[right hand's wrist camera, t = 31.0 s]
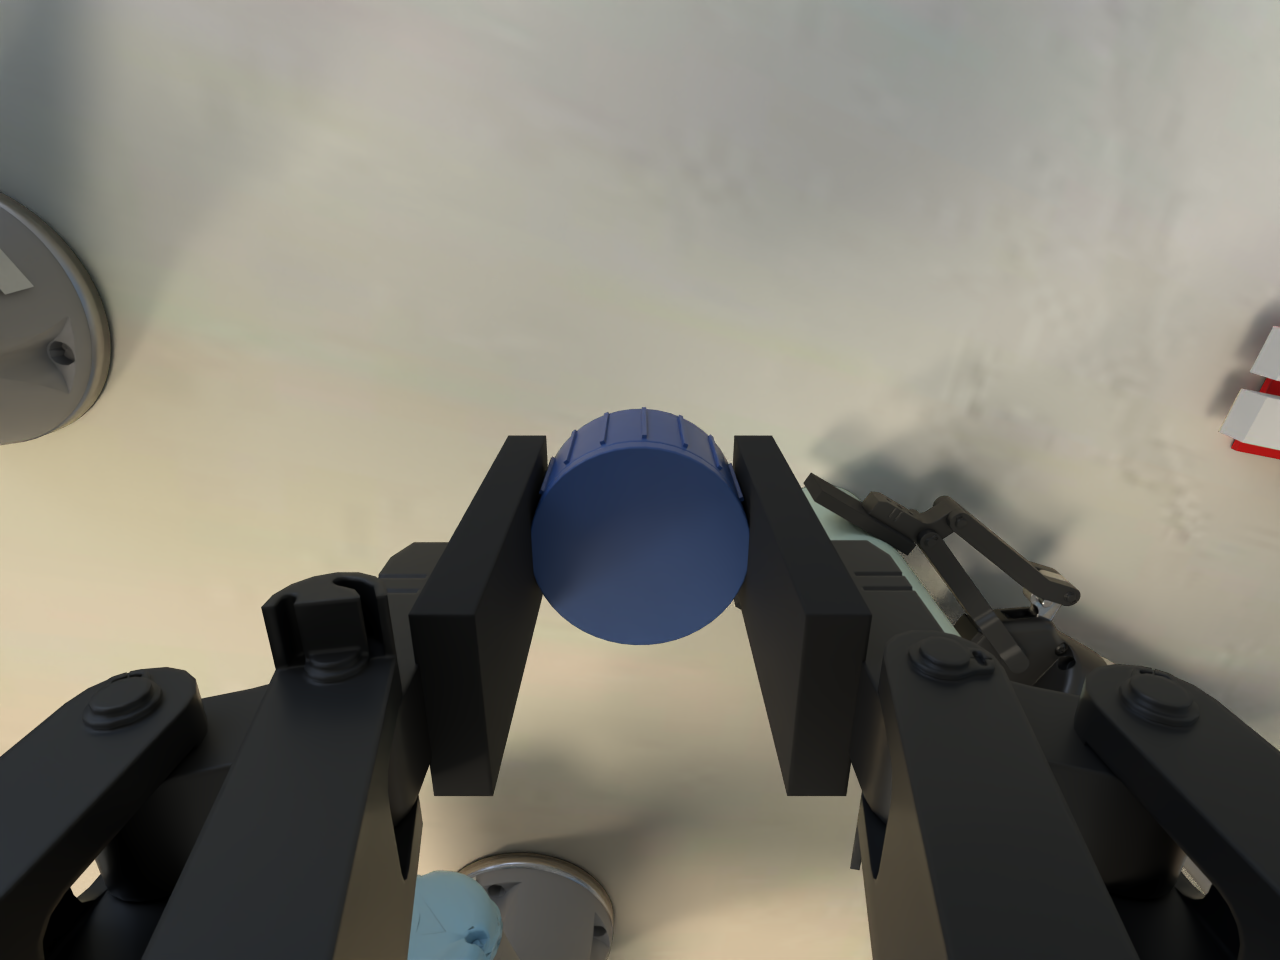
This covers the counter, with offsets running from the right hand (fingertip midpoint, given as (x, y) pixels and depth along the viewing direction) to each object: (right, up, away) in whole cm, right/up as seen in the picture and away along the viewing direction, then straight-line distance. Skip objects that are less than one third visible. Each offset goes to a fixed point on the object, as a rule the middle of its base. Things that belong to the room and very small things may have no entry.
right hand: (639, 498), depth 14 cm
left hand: (+8, -3, +26) cm, 27 cm away
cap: (0, -1, -2) cm, 2 cm away
